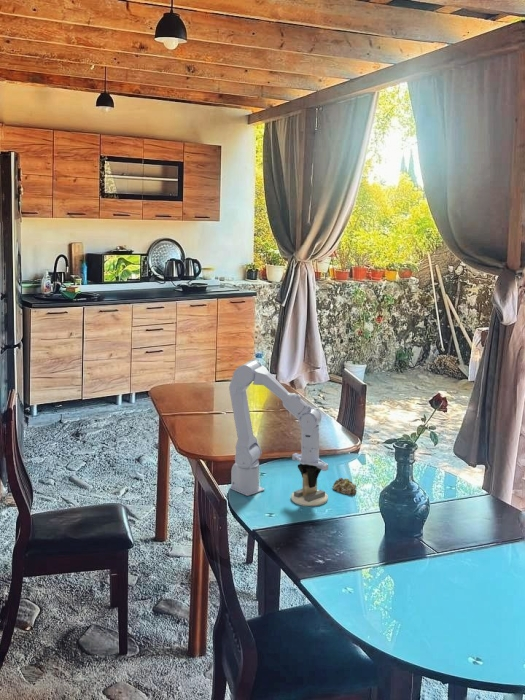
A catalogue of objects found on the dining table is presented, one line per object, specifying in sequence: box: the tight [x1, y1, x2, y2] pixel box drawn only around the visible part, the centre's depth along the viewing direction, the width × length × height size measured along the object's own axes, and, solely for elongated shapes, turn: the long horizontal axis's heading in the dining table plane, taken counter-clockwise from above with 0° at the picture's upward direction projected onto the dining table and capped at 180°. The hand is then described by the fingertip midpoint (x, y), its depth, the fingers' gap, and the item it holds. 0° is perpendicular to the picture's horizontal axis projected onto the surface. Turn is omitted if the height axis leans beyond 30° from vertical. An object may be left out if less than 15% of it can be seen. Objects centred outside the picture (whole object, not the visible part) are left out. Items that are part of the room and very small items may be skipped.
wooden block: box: [302, 473, 318, 498], centre depth 238 cm, size 2×5×8 cm, turn 131°
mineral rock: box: [332, 477, 357, 496], centre depth 247 cm, size 11×4×8 cm
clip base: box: [290, 488, 329, 507], centre depth 239 cm, size 12×12×2 cm
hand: (309, 486), depth 238 cm, fingers closed on wooden block, 2 cm apart
